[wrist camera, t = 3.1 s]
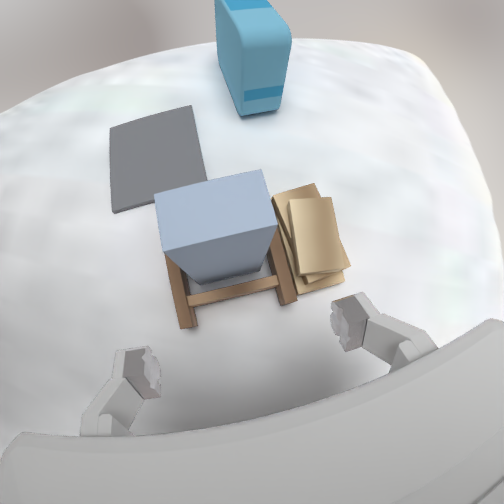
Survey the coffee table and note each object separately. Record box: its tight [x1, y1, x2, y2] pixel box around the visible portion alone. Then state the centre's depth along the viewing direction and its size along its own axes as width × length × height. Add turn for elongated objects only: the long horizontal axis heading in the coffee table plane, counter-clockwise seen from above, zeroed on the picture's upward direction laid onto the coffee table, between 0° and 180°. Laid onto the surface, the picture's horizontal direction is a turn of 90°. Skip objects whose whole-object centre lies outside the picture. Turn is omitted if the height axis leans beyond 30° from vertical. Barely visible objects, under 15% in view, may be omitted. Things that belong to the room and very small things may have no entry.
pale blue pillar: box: [154, 169, 278, 285], centre depth 20 cm, size 6×3×13 cm, turn 104°
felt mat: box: [110, 105, 207, 214], centre depth 28 cm, size 10×11×1 cm
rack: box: [165, 228, 298, 329], centre depth 25 cm, size 10×10×3 cm
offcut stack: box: [271, 183, 351, 296], centre depth 25 cm, size 5×9×4 cm, turn 14°
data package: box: [215, 0, 292, 116], centre depth 26 cm, size 12×4×12 cm, turn 16°
